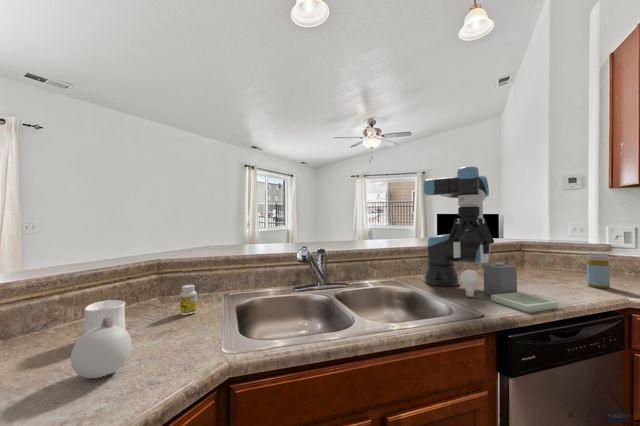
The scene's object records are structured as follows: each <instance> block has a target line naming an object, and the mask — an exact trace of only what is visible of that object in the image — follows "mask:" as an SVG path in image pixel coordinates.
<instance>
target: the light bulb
mask: <svg viewBox="0 0 640 426" xmlns="http://www.w3.org/2000/svg"><path fill="white" fill-rule="evenodd" d="M459 277H460V278H459V280H460V282H461V283H462V285H463V287H464V290H465V296H466V297H468V298H470V299H471V298H474V297H475V291H476V287H477V286H478V284H479V282H480V276H479V274H478V272H476V271H475V270H472V269H465V270H463V271H462V272H461V273H460V276H459Z"/></svg>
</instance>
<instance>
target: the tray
mask: <svg viewBox="0 0 640 426" xmlns="http://www.w3.org/2000/svg"><path fill="white" fill-rule="evenodd" d="M490 301H491V302H494V303H497V304H498V305H499V304H500V305H502V306H505V307H509V308H511V309H515V310H517V311H520V312H523V313H526V314H529V313H536V312H541V311H548V310H556V309H559V302H558V301H556V300H552V299H549V298H544V297H542V296H541V297H540V296H536V295H534V294H530V293H529V294H528V293H525V292H522V291H517V292H513V293H505V294H496V295H490Z"/></svg>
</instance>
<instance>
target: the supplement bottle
mask: <svg viewBox="0 0 640 426" xmlns="http://www.w3.org/2000/svg"><path fill="white" fill-rule="evenodd" d="M181 291H182V292H181V293H180V295H179V304H180V311H181V312H182V313H189V312H194V311H196V310H197V311H198V295H197V294H198V293H197V291H196V290H195V285H194V284H186V285H182V287H181ZM181 312H180V313H181Z"/></svg>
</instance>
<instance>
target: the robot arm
mask: <svg viewBox="0 0 640 426" xmlns="http://www.w3.org/2000/svg"><path fill="white" fill-rule="evenodd" d="M422 186H423V193H424V195H426V196H441V197H445V198H450V199H457V205H458V206H459V207H458V208H457V211H458V212H457V214H458V218H453V224H452V228H451V230H450V233H448V234H439V235H431V236H429V237H428V238H427V266H428V267H427V269H426V273H425V275H424V282H425V283H426V284H427V285H431V286H436V287H437V286H438V287H456V286H459V284H460V278H459V277H458V274H457V272H456V269H455V268H456V267H455V263H466V264H467V263H469V264H488V263H489V261H490V255H491V247H492V244H494V243H495V240H494V238H493V235H492V234H491V231H490V229H489V227H488V224H487V218H485V217H484V208H483V207H484V203H483V202H484V201H485V199H486V197H489V196H490V190H489V189H490V188H489V183H488V178H487V177H486V176H485V175H480V173H479V168H478V167H477V166H462V167H460V168H458V169H457V175H456V176H450V177H449V176H448V177H437V178H436V177H435V178H434V177H433V178H428V179H427V178H426V179H425V180H424V181H423V185H422Z"/></svg>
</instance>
